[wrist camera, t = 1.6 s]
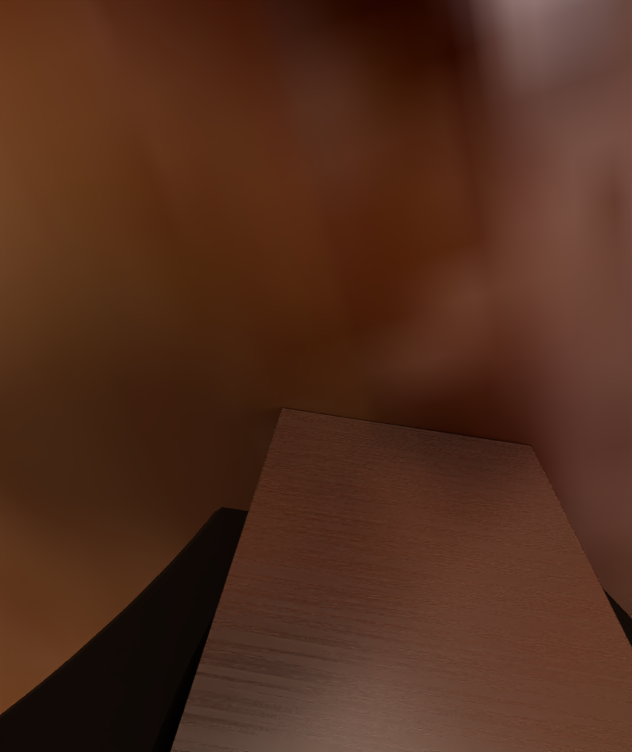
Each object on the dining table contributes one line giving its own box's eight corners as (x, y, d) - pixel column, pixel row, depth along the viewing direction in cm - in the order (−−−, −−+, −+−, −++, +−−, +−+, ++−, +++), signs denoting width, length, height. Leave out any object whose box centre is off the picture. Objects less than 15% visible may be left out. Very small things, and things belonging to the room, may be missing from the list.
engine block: (531, 445, 9) (864, 1117, 3) (472, 630, 11) (610, 1318, 5) (282, 408, 9) (98, 972, 3) (261, 596, 11) (112, 1219, 5)
